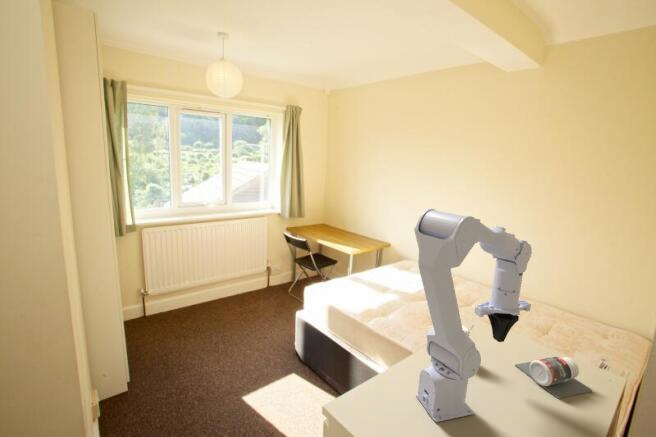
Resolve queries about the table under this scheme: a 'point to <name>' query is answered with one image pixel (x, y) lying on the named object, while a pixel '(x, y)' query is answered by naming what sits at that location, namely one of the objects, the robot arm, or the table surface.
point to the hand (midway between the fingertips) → (498, 339)
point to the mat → (561, 388)
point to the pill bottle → (553, 370)
